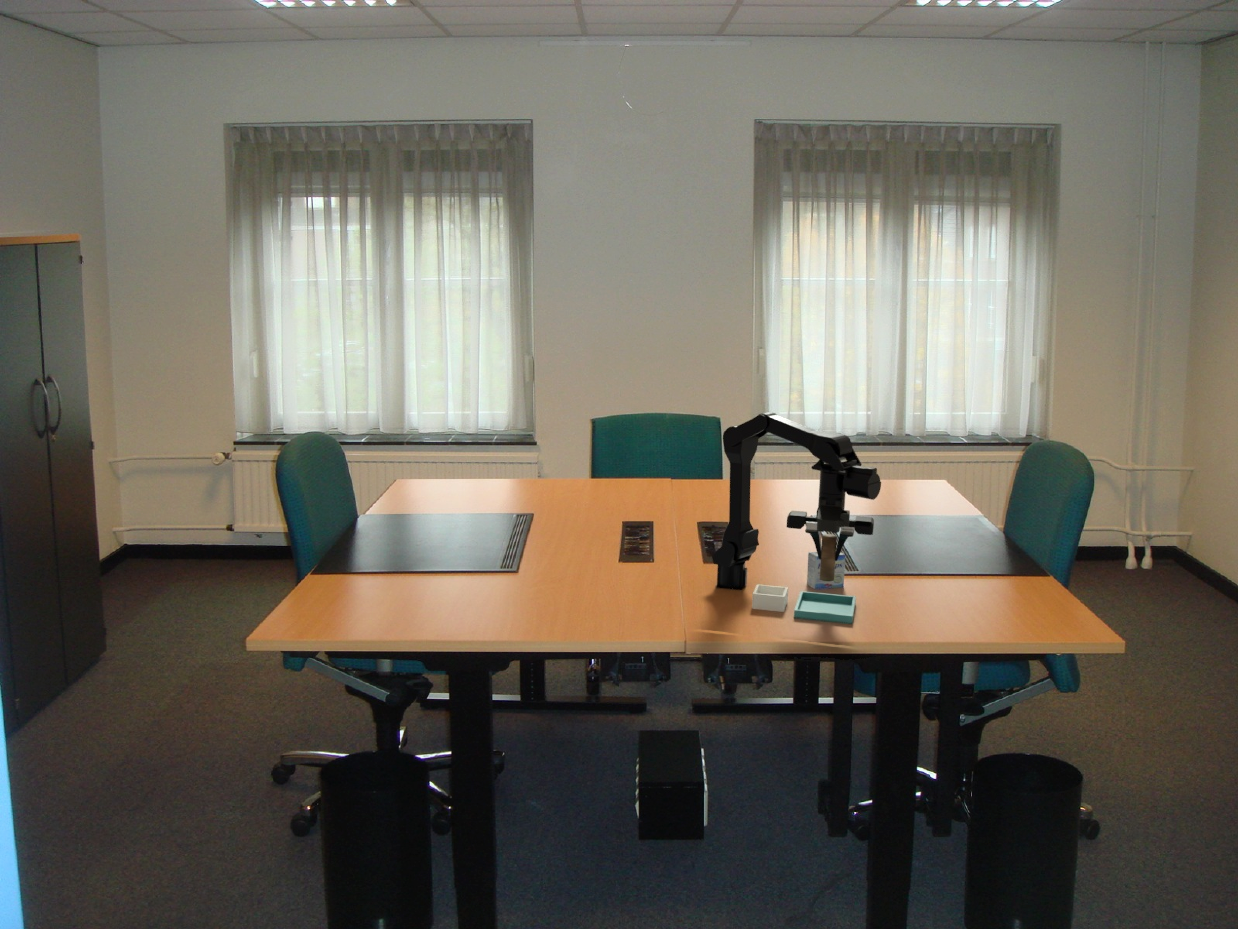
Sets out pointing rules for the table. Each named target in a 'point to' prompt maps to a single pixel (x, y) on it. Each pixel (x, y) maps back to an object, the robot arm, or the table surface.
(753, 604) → the white square box
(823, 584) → the medicine box
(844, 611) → the tray
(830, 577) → the dowel
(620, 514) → the table surface
